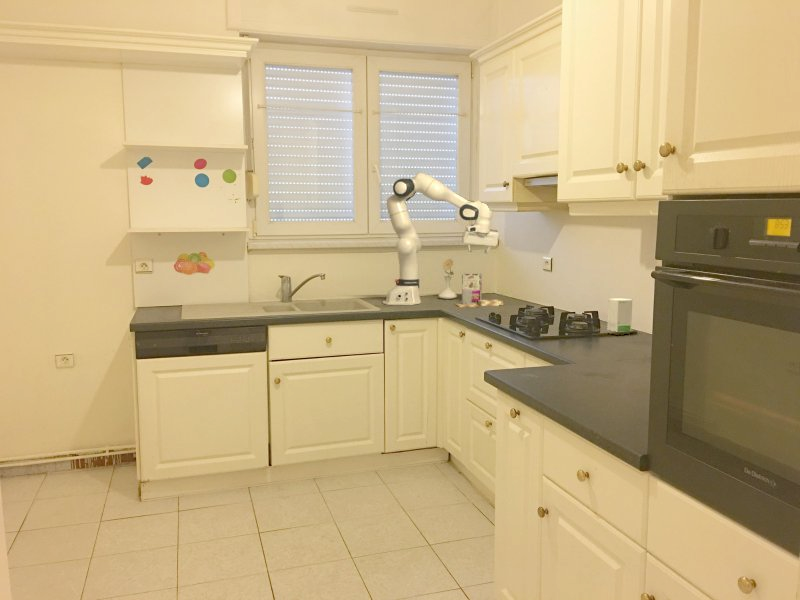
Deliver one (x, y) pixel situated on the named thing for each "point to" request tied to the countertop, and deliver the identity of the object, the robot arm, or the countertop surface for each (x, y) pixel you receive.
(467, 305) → the cork mat
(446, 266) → the flower in vase
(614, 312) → the skincare box
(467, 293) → the grey block
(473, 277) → the candy bar box
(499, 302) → the birch box
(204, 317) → the countertop surface
